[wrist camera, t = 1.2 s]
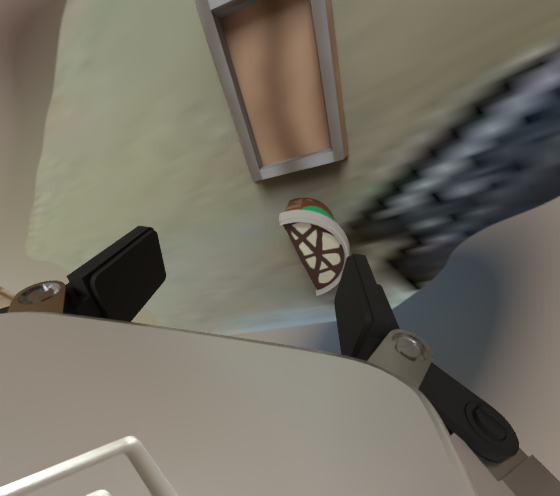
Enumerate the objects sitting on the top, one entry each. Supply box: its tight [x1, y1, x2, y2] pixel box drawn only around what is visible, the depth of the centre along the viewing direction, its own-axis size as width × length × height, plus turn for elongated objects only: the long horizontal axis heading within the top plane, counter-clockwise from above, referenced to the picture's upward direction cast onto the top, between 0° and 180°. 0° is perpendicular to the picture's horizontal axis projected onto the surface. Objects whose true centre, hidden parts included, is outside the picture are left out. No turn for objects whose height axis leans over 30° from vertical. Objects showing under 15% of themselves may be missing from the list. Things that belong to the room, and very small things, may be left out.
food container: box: [279, 198, 350, 296], centre depth 31 cm, size 12×6×10 cm, turn 26°
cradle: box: [195, 0, 349, 182], centre depth 26 cm, size 13×18×4 cm
